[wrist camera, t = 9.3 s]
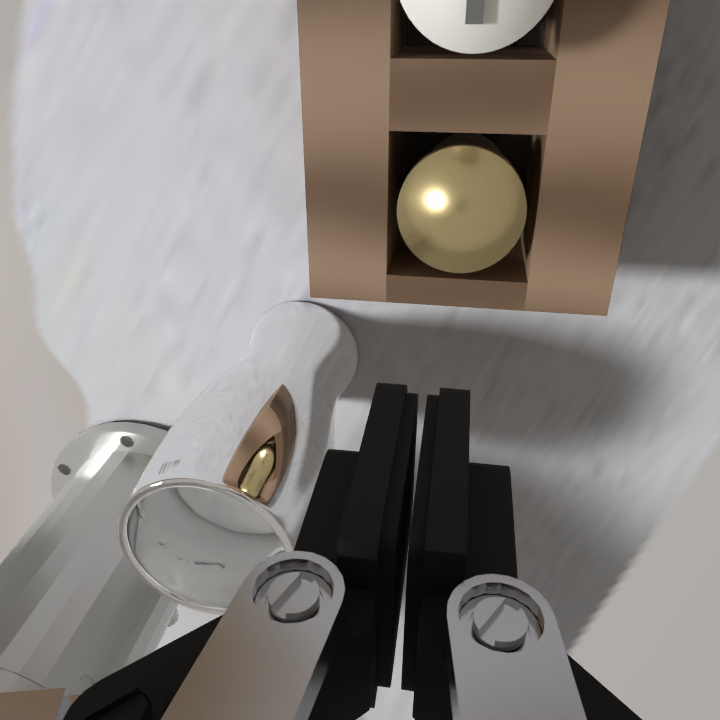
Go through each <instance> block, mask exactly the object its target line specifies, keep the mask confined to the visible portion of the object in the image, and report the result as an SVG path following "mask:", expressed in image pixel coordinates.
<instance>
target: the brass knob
mask: <svg viewBox="0 0 720 720" xmlns="http://www.w3.org/2000/svg"><path fill="white" fill-rule="evenodd" d="M526 216H527V201H526V195H525V191H524V186H523V183H522V180H521V178H520V176H519V174H518V172H517V170H516V169H515V168H514V166H513V165H512V164H511V162H510V161H509V160H508V159H507V158H506V157H504V156H503V155H502V154H501V153H500V151H499V149H498V148H497V147H496V145H495V144H494V143H493V142H492V141H490V140H489V139H488V138H486V137H484V136H482V135H479V134H476V133H457V134H453V135H451V136H448V137H446V138H445V139H443V140H442V141H440V142H439V143H438V144H437V145H436V146H435V147H434V148H433V150H432V151H431V152H429V153H427V154H426V155H425V156H423V157H422V158H421V159H420V160H419V161H418V162H417V163H416V164H415V165H414V166H413V167H412V169H411V170H410V172H409V173H408V175H407V177H406V179H405V180H404V183H403V185H402V188H401V191H400V193H399V197H398V202H397V221H398V226H399V229H400V233H401V235H402V237H403V239H404V241H405V243H406V244H407V246H408V248H409V249H410V250H411V251H412V252H413V254H414V255H416V256H417V257H418V258H419V259H420V260H421V261H423V262H424V263H426V264H428V265H429V266H431V267H433V268H436V269H439V270H442V271H446V272H451V273H469V272H475V271H479V270H482V269H484V268H487V267H489V266H491V265H493V264H495V263H496V262H498V261H499V260H501V259H502V258H503V257H504V256H506V255H507V254H508V253H509V252H510V251H511V249H512V248H513V247H514V246H515V244H516V243H517V241H518V240H519V238H520V236H521V234H522V231H523V228H524V225H525V221H526Z"/></svg>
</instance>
